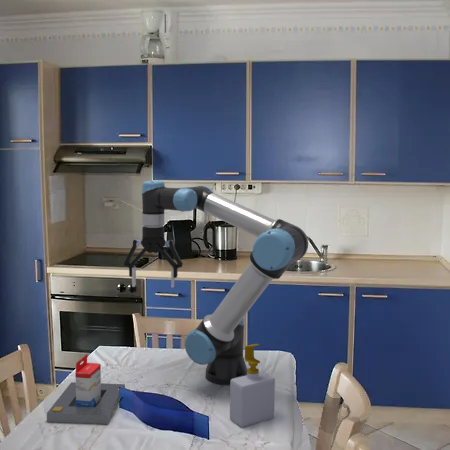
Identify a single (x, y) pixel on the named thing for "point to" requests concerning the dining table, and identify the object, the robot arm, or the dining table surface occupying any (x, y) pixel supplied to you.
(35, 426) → the dining table surface
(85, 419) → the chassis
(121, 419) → the dining table surface
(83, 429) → the dining table surface
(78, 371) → the ink box
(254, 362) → the soap bottle
